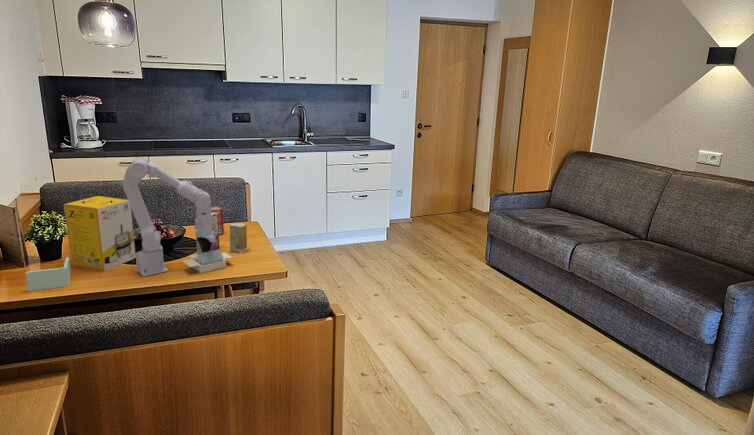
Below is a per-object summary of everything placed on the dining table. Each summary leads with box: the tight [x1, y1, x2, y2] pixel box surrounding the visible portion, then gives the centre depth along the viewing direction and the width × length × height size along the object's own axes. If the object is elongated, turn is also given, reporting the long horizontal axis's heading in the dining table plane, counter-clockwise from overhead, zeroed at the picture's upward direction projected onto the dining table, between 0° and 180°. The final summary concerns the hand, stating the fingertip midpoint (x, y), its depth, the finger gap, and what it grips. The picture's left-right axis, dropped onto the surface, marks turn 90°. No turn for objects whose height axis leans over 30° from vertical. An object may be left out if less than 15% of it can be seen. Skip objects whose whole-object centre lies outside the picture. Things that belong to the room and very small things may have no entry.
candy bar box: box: [194, 213, 220, 254], centre depth 213 cm, size 11×5×16 cm, turn 168°
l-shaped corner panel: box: [24, 256, 72, 292], centre depth 177 cm, size 12×12×8 cm
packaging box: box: [63, 195, 136, 272], centre depth 196 cm, size 16×16×25 cm
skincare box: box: [229, 222, 248, 254], centre depth 216 cm, size 6×4×12 cm
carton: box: [182, 252, 234, 275], centre depth 198 cm, size 18×13×6 cm
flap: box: [198, 248, 223, 264], centre depth 194 cm, size 9×4×1 cm
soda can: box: [210, 206, 225, 236], centre depth 238 cm, size 7×7×13 cm
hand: (206, 254), depth 197 cm, fingers closed
